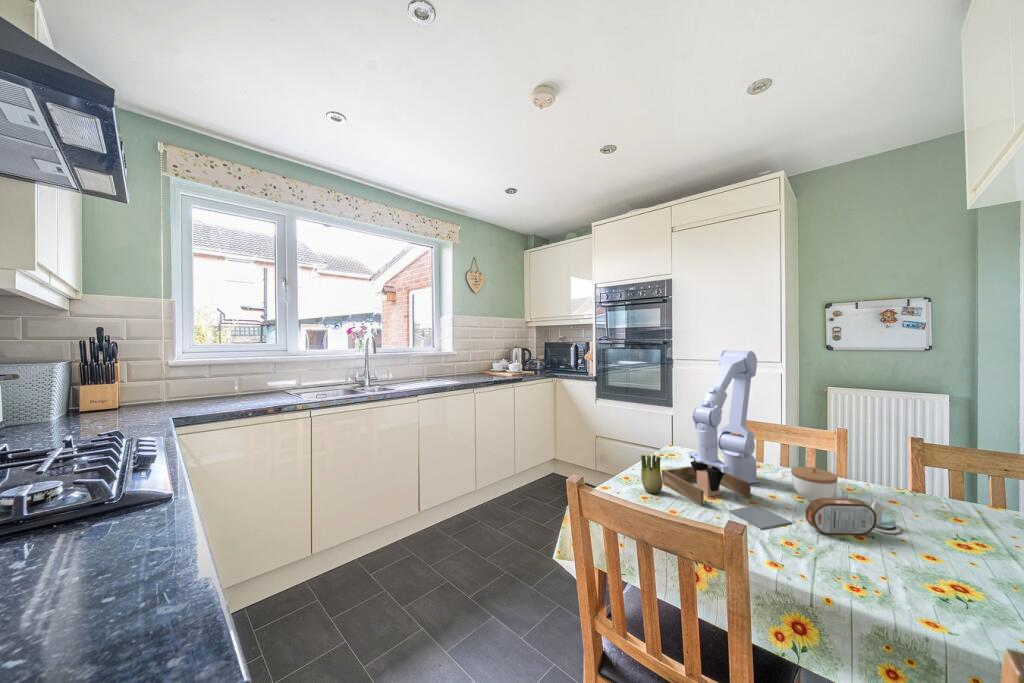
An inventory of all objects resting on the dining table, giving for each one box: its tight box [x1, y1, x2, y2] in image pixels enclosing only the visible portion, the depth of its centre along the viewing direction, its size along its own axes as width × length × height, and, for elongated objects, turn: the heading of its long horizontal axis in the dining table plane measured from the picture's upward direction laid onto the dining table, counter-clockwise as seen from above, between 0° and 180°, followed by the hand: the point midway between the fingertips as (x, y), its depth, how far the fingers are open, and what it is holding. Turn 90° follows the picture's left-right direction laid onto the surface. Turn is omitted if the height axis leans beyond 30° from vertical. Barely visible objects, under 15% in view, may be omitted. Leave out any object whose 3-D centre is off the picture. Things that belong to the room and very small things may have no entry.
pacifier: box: [870, 501, 902, 535], centre depth 93 cm, size 7×6×6 cm
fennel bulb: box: [640, 453, 663, 495], centre depth 118 cm, size 6×5×12 cm
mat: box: [728, 505, 793, 530], centre depth 100 cm, size 10×10×1 cm
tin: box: [805, 497, 877, 536], centre depth 91 cm, size 15×3×8 cm, turn 84°
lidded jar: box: [790, 466, 838, 503], centre depth 110 cm, size 11×11×9 cm
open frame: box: [661, 465, 752, 507], centre depth 118 cm, size 18×18×4 cm
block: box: [696, 469, 721, 497], centre depth 116 cm, size 4×4×6 cm
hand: (708, 487), depth 116 cm, fingers closed on block, 4 cm apart
